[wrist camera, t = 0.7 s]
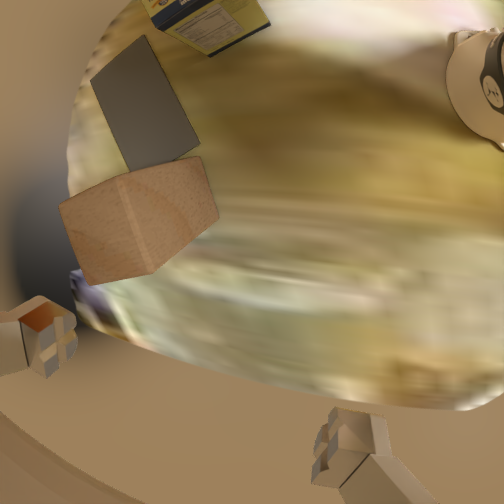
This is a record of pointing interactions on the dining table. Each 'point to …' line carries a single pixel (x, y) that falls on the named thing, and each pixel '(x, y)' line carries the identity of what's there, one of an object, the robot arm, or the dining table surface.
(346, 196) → the dining table surface
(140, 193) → the wooden block
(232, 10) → the protein box
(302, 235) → the dining table surface
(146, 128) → the mat
